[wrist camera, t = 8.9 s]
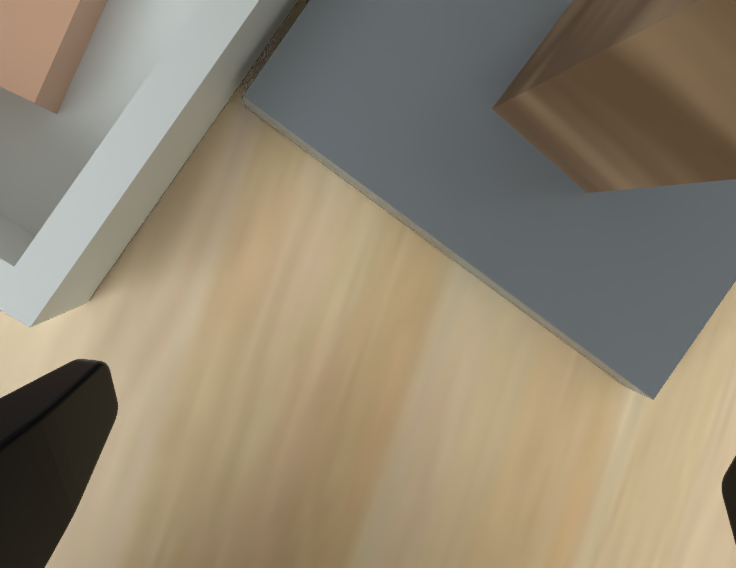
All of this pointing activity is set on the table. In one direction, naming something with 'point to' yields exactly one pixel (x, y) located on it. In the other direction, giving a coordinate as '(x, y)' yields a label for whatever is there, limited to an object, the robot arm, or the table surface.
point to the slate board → (499, 175)
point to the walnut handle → (632, 93)
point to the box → (114, 141)
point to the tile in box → (44, 46)
